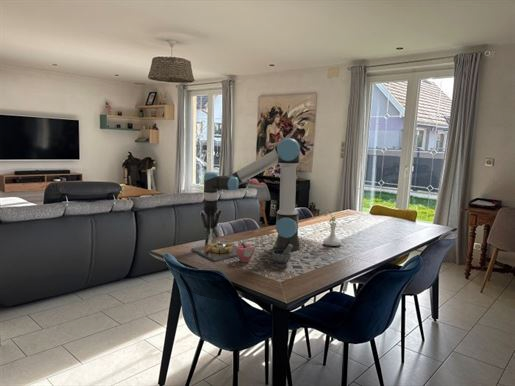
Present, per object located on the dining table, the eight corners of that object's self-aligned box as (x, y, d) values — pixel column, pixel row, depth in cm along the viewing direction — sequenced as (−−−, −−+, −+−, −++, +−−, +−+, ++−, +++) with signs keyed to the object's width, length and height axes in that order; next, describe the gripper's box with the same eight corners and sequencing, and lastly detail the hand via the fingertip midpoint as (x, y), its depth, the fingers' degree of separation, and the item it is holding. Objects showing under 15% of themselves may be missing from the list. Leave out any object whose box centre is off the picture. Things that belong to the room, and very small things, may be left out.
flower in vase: (329, 241, 246) (331, 202, 243) (345, 245, 238) (347, 205, 235) (317, 244, 237) (319, 205, 234) (332, 249, 229) (335, 207, 226)
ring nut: (236, 248, 221) (236, 231, 220) (225, 254, 209) (225, 237, 208) (211, 244, 227) (211, 228, 226) (199, 249, 216) (199, 233, 214)
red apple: (239, 265, 197) (239, 246, 195) (233, 259, 204) (233, 241, 203) (256, 263, 200) (256, 244, 199) (250, 258, 208) (250, 240, 207)
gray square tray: (250, 253, 216) (250, 245, 216) (214, 261, 201) (214, 252, 200) (225, 243, 235) (226, 236, 234) (191, 250, 219) (191, 242, 219)
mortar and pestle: (268, 265, 197) (268, 242, 195) (277, 260, 205) (278, 239, 203) (287, 270, 191) (288, 246, 189) (296, 265, 199) (297, 242, 197)
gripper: (217, 197, 226) (217, 236, 230) (197, 199, 219) (197, 238, 223) (223, 199, 220) (223, 239, 224) (202, 201, 213) (202, 242, 217)
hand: (210, 239), depth 223 cm, fingers closed
